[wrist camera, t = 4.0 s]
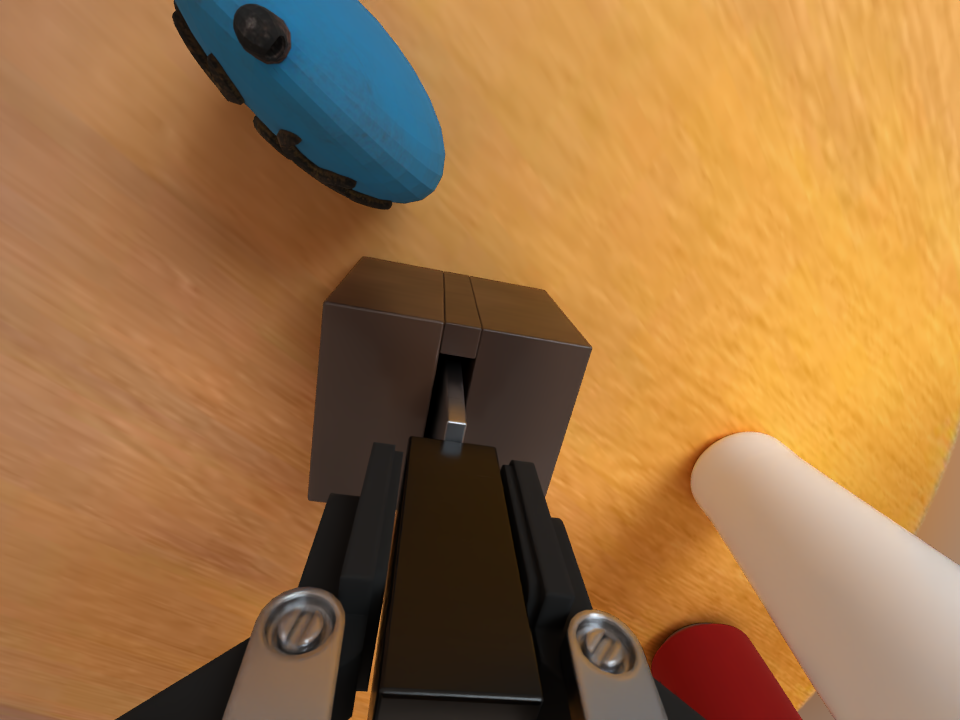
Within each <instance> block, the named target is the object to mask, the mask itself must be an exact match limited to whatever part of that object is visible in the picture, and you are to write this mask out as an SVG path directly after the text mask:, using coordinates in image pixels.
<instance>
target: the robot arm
mask: <svg viewBox="0 0 960 720" xmlns="http://www.w3.org/2000/svg"><path fill="white" fill-rule="evenodd" d="M395 446H396V445H393V444H385V443H378V442H373V446H372V450H371V454H370V458H369V462H368V466H367V470H366V475H365V479H364V483H363V487H362V491H361V495H360V496H353V495H344V494H335V493H331V494H330V495H329V498H328V500H327V503H326V506H325V509H324V512H323V515H322V518H321V521H320V524H319V527H318V530H317V533H316V536H315V539H314V542H313V545H312V547H311V550H310V553H309V556H308V559H307V562H306V565H305V568H304V571H303V574H302V577H301V580H300V583H299V586H298V588H294V589H291V590H288V591H285V592H283V593H281V594H280V595H278V596H277V597H275V598H273V599H272V600H271V601H270V602H269V603H268V604H267V605H266V606H265V607H264V608H263V609H262V611H261V613H260V614H259V616H258V618H257V620H256V622H255V625H254V628H253V631H252V634H251V637H250V638H248V639H247V640H245V641H243V642H242V643H240V644H238V645H237V646H235V647H233V648H232V649H230V650H229V651H227V652H225V653H224V654H222V655H220V656H219V657H217V658H215V659H214V660H212V661H210V662H209V663H207V664H206V665H204V666H202V667H201V668H199V669H197V670H196V671H194V672H192V673H191V674H189V675H188V676H186V677H184V678H183V679H181V680H179V681H178V682H176V683H174V684H173V685H171V686H170V687H168V688H166V689H165V690H163V691H161V692H160V693H158V694H156V695H155V696H153V697H151V698H150V699H148V700H147V701H145V702H143V703H142V704H140V705H138V706H137V707H135V708H133V709H132V710H130V711H129V712H127V713H125V714H124V715H122V716H120V717H119V718H117V719H115V720H348V719H349V718H350V717H352V712H353V707H354V700H355V694H356V691H367V690H368V685H369V679H370V673H371V667H372V661H373V656H374V650H375V644H376V638H377V633H378V627H379V621H380V615H381V609H382V604H383V598H384V592H385V586H386V579H387V572H388V565H389V558H390V550H391V543H392V535H393V528H394V520H395V512H396V505H397V497H398V490H399V482H400V475H401V467H402V459H403V452H401V451H395ZM501 476H502V481H503V487H504V492H505V497H506V502H507V508H508V513H509V518H510V523H511V528H512V534H513V539H514V544H515V549H516V555H517V560H518V565H519V570H520V576H521V581H522V586H523V591H524V596H525V602H526V607H527V612H528V617H529V623H530V628H531V633H532V638H533V644H534V649H535V654H536V659H537V665H538V670H539V675H540V680H541V685H542V691H543V696H544V703H543V706H542V709H541V711H540V714H539V716H538V719H537V720H706V719H705V718H704V717H702V716H701V715H700V714H699V713H697V712H696V711H695V710H694V709H692V708H691V707H690V706H689V705H687V704H686V703H685V702H684V701H682V700H681V699H680V698H679V697H677V696H676V695H675V694H674V693H672V692H671V691H670V690H669V689H667V688H666V687H665V686H664V685H662V684H661V683H660V682H659V681H657V680H656V679H655V678H654V677H653V676H652V674H651V671H650V668H649V665H648V663H647V660H646V657H645V654H644V652H643V649H642V647H641V645H640V643H639V641H638V639H637V637H636V636H635V635H634V633H633V632H632V631H631V630H630V628H629V627H628V626H627V625H625V624H624V623H623V622H622V621H620V620H619V619H618V618H616V617H614V616H612V615H610V614H609V613H606V612H603V611H599V610H593V608H592V605H591V603H590V600H589V597H588V594H587V591H586V588H585V585H584V582H583V579H582V576H581V573H580V570H579V567H578V564H577V561H576V558H575V556H574V553H573V550H572V547H571V544H570V541H569V538H568V535H567V532H566V529H565V526H564V524H563V522H562V520H561V519H559V518H551V516H550V513H549V510H548V507H547V503H546V500H545V497H544V494H543V490H542V487H541V484H540V481H539V478H538V474H537V471H536V468H535V465H534V463H532V462H525V461H517V460H511V461H510V463H509V465H502V467H501Z"/></svg>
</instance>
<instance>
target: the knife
mask: <svg viewBox="0 0 960 720" xmlns="http://www.w3.org/2000/svg"><path fill="white" fill-rule="evenodd" d="M466 426H467V421H466V411H465V400H464V390H463V379H462V369H461V358H460V356H454V355H448V354H442V353H440V352H439V358H438V363H437V369H436V374H435V380H434V385H433V390H432V396H431V401H430V407H429V422H428V438H425V437H417V436H410V437H409V439H408V444H407V450H406V456H405V462H404V468H403V473H402V479H401V485H400V491H399V497H398V503H397V509H396V515H395V520H394V528H393V535H392V543H391V550H390V558H389V565H388V572H387V579H386V586H385V592H384V600H383V607H382V615H381V622H380V629H379V637H378V644H377V652H376V659H375V667H374V674H373V681H372V689H371V696H370V704H369V711H368V718H367V720H537V719H538V716H539V714H540V711H541V709H542V706H543V703H544V696H543V691H542V685H541V680H540V675H539V670H538V665H537V659H536V654H535V649H534V644H533V638H532V633H531V628H530V623H529V617H528V612H527V607H526V602H525V596H524V591H523V586H522V581H521V576H520V570H519V565H518V560H517V555H516V549H515V544H514V539H513V534H512V528H511V523H510V518H509V513H508V508H507V502H506V497H505V492H504V487H503V481H502V476H501V471H500V466H499V460H498V455H497V450H496V448H495V447H493V446H485V445H477V444H470V443H463V440H464V435H465V431H466Z"/></svg>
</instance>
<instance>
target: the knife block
mask: <svg viewBox="0 0 960 720" xmlns="http://www.w3.org/2000/svg"><path fill="white" fill-rule="evenodd" d="M591 351H592V347H591V345H590V344H589V343H588V342H587V341H586V339H585V338H584V337H583V336H582V334H581V333H580V332H579V331H578V330H577V328H576V327H575V326H574V325H573V324H572V322H571V321H570V320H569V319H568V318H567V316H566V315H565V314H564V313H563V312H562V310H561V309H560V308H559V307H558V305H557V304H556V303H555V302H554V301H553V299H552V298H551V297H550V296H549V295H548V293H547V292H546V291H545V290H541V289H536V288H530V287H525V286H520V285H514V284H509V283H504V282H498V281H493V280H488V279H482V278H477V277H472V276H470V277H469V276H467V275H461V274H456V273H451V272H444V273H443V271H439V270H433V269H428V268H423V267H417V266H412V265H407V264H401V263H396V262H391V261H385V260H380V259H375V258H369V257H362V258H361V259H360V260H359V262H358V263H357V264H356V265H355V266H354V267H353V269H352V270H351V271H350V272H349V273H348V274H347V276H346V277H345V278H344V279H343V280H342V281H341V283H340V284H339V285H338V286H337V287H336V288H335V290H334V291H333V292H332V293H331V294H330V295H329V297H328V298H327V299H326V300H325V301H324V303H323V312H322V324H321V337H320V349H319V362H318V374H317V387H316V400H315V412H314V425H313V437H312V450H311V462H310V475H309V487H308V500H309V501H317V502H326V503H327V500H328V498H329V495H330V494H331V493H335V494H344V495H353V496H360V495H361V491H362V487H363V483H364V479H365V475H366V470H367V466H368V462H369V458H370V454H371V450H372V446H373V442H378V443H385V444H393V445H396V446H395V451H401V452H403V459H402V467H401V475H400V482H399V490H398V497H399V491H400V485H401V479H402V473H403V468H404V462H405V456H406V450H407V444H408V439H409V437H410V436H417V437H425V438H428V422H429V407H430V401H431V396H432V390H433V385H434V380H435V374H436V369H437V363H438V358H439V352H440V353H442V354H448V355H454V356H460V358H461V369H462V379H463V390H464V400H465V411H466V421H467V426H466V431H465V435H464V440H463V443H470V444H477V445H485V446H493V447H495V448H496V450H497V455H498V460H499V466H500V471H501V467H502V465H509V463H510V461H511V460H517V461H525V462H532V463H534V465H535V468H536V471H537V474H538V478H539V481H540V484H541V487H542V490H543V494H544V497H545V496H546V493H547V490H548V486H549V483H550V480H551V477H552V474H553V471H554V467H555V464H556V461H557V458H558V455H559V452H560V449H561V445H562V442H563V439H564V436H565V433H566V430H567V426H568V423H569V420H570V417H571V414H572V411H573V407H574V404H575V401H576V398H577V395H578V392H579V388H580V385H581V382H582V379H583V376H584V373H585V370H586V366H587V363H588V360H589V357H590V354H591ZM398 497H397V503H398ZM396 509H397V505H396Z"/></svg>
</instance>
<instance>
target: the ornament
mask: <svg viewBox="0 0 960 720" xmlns="http://www.w3.org/2000/svg"><path fill="white" fill-rule="evenodd" d="M174 6H175V9H176V11H175V12H174V13H173V16H172V18H173V21H174V24H175V27H176V28H177V30H178V32H179V34H180V36H181V38H182V39H183V41H184V43H185V44H186V46H187V48H188V49H189V51H190V52H191V54H192V55H193V57H194V58H195V59H196V61H197V62H198V64H199V65H200V66H201V68H202V69H203V70H204V72H205V73H206V74H207V76H208V77H209V78H210V79H211V81H212V82H213V83H214V84H215V85H216V87H217V88H218V89H219V90H220V92H221V93H222V95H223V96H224V97H225V98H226V99H227V101H230V102H233V103H236V104H239V105H241V104H243V103H245V104H246V105H247V106H248V107H249V108H250V109H251V110H252V111H253V113H254V114H255V115H256V116H254V120H253V123H254V127H255V128H256V130H257V131H258V133H259V134H260V135H261V136H262V137H263V138H264V139H265V140H266V141H267V142H268V143H270V144H271V145H272V146H273V147H274V148H275V149H276V150H277V151H278V152H280V153H281V154H282V155H283V156H285V157H286V158H287V159H290V160H292V161H293V162H294V163H295V164H297V165H298V166H299V167H300V168H302V169H303V170H304V171H305V172H307V173H308V174H310V175H311V176H312V177H314V178H315V179H316V180H318V181H319V182H321V183H322V184H324V185H325V186H327V187H329V188H330V189H332V190H334V191H336V192H338V193H340V194H342V195H343V196H345V197H347V198H349V199H351V200H352V201H354V202H357V203H360V204H363V205H365V206H369V207H372V208H377V209H384V210H387V209H390V208H391V206H392V202H395V203H410V202H414V201H419V200H422V199H424V198H425V197H426V196H428V195H429V194H431V193H432V192H433V191H434V190H435V189H436V187H437V185H438V183H439V181H440V179H441V177H442V175H443V168H444V160H445V150H444V143H443V137H442V131H441V127H440V124H439V121H438V119H437V116H436V114H435V111H434V108H433V106H432V103H431V100H430V98H429V96H428V95H427V93H426V91H425V89H424V87H423V85H422V84H421V82H420V80H419V78H418V76H417V74H416V72H415V71H414V69H413V68H412V66H411V65H410V63H409V62H408V60H407V59H406V57H405V56H404V55H403V53H402V52H401V50H400V49H399V47H398V46H397V44H396V43H395V42H394V41H393V39H392V38H391V37H390V36H389V34H388V33H387V32H386V31H385V29H384V28H383V27H382V26H381V24H380V23H379V22H378V21H377V20H376V18H375V17H374V16H373V15H372V14H371V13H370V12H369V11H368V10H367V9H366V8H365V7H364V6H363V5H362V4H361V3H360V2H359V1H358V0H174Z"/></svg>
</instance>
